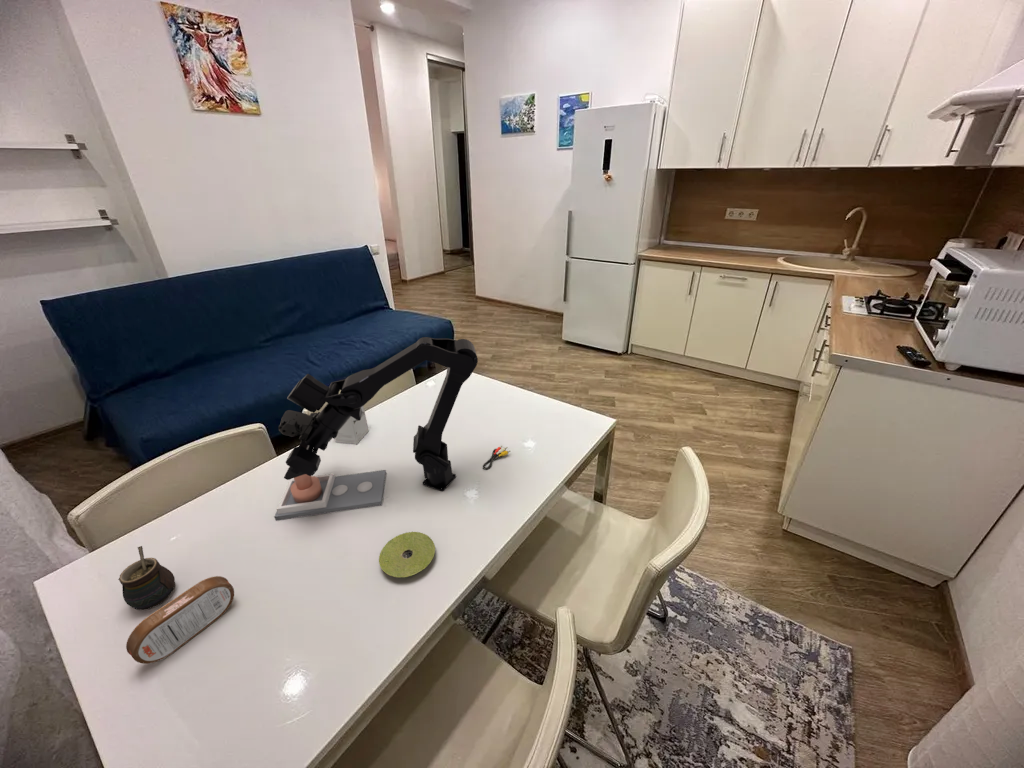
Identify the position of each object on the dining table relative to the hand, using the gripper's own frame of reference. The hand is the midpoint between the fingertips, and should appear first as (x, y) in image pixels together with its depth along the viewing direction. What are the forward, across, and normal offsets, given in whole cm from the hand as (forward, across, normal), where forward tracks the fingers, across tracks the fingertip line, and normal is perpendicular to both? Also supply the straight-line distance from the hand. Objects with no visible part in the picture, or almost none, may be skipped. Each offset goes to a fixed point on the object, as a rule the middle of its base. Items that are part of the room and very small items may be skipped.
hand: (291, 465), depth 96 cm
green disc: (-11, +23, +26) cm, 37 cm away
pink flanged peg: (+5, 0, +7) cm, 9 cm away
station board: (+2, 0, +13) cm, 13 cm away
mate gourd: (+22, +22, -7) cm, 32 cm away
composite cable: (-26, -6, +42) cm, 50 cm away
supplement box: (+2, -26, +13) cm, 29 cm away
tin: (+15, +31, 0) cm, 35 cm away
